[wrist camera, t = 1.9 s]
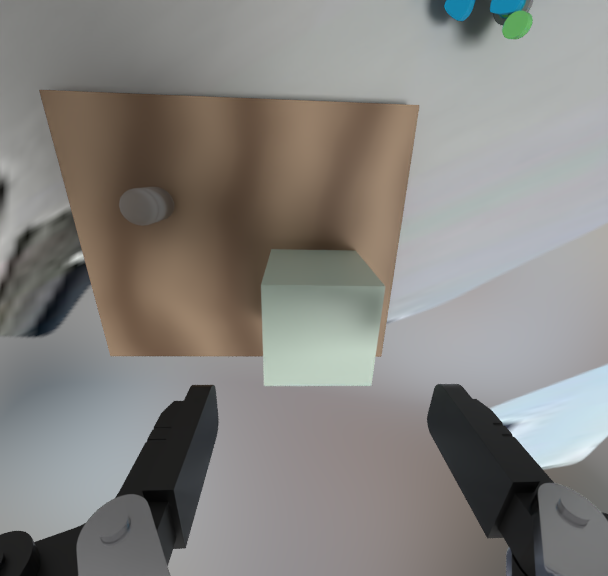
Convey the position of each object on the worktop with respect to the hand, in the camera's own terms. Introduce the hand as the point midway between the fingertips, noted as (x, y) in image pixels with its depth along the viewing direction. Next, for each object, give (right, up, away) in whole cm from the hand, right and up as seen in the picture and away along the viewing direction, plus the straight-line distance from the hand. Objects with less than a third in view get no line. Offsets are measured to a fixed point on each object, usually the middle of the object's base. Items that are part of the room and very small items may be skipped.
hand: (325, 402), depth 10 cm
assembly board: (-5, +7, +11) cm, 14 cm away
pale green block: (0, +4, +11) cm, 12 cm away
